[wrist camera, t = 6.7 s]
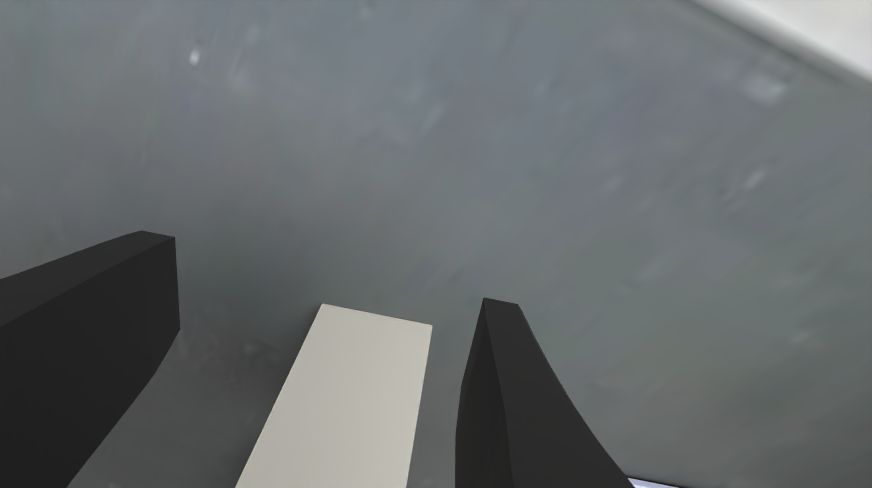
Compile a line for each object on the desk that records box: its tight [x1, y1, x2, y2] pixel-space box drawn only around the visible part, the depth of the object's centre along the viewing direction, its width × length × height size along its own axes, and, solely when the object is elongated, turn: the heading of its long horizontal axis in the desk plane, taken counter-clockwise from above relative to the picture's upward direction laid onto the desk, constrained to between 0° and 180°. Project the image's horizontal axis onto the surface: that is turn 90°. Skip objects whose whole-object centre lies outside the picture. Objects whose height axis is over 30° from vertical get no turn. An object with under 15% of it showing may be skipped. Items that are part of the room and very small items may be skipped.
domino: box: [235, 304, 433, 488], centre depth 19 cm, size 4×2×9 cm, turn 80°
